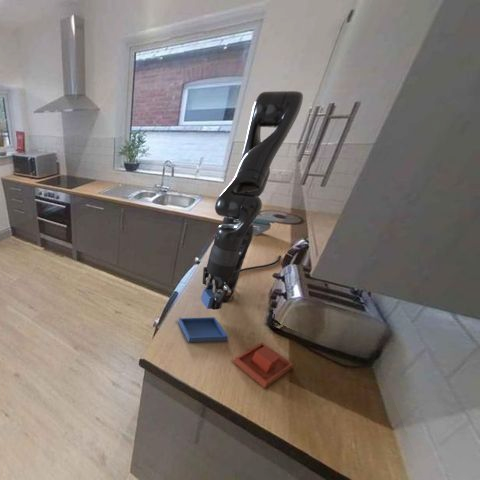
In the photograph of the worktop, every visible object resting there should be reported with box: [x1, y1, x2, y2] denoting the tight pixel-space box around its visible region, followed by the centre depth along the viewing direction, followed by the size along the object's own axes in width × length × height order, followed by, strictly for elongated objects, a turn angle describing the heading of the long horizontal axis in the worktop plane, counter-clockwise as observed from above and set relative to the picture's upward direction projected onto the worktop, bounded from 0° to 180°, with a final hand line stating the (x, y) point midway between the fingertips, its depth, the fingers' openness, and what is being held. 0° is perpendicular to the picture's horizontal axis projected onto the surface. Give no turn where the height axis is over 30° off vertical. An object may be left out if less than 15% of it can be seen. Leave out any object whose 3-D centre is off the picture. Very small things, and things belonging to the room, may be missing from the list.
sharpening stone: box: [234, 214, 276, 236], centre depth 164 cm, size 25×8×11 cm, turn 64°
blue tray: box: [177, 316, 229, 343], centre depth 89 cm, size 13×9×2 cm
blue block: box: [200, 288, 223, 310], centre depth 82 cm, size 4×4×4 cm
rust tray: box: [233, 342, 294, 389], centre depth 77 cm, size 13×9×2 cm
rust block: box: [251, 346, 280, 374], centre depth 76 cm, size 4×4×4 cm
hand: (210, 303), depth 83 cm, fingers closed on blue block, 4 cm apart
